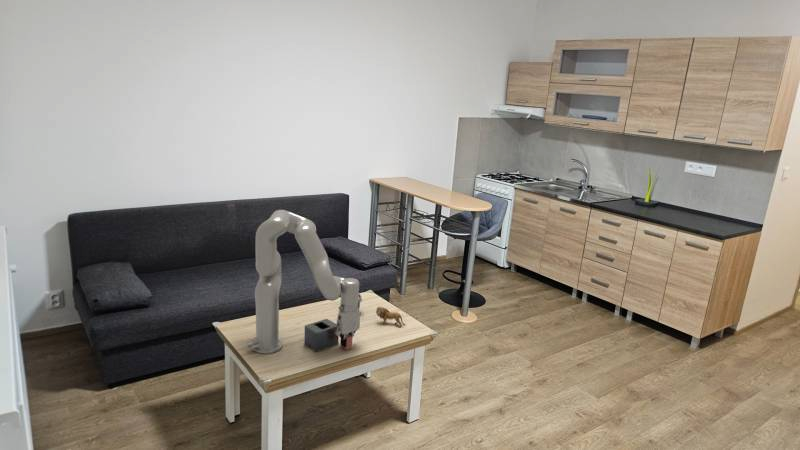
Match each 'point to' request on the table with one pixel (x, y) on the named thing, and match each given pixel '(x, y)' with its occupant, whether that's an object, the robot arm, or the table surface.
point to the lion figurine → (388, 315)
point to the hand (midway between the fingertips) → (346, 344)
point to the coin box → (320, 335)
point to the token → (348, 342)
